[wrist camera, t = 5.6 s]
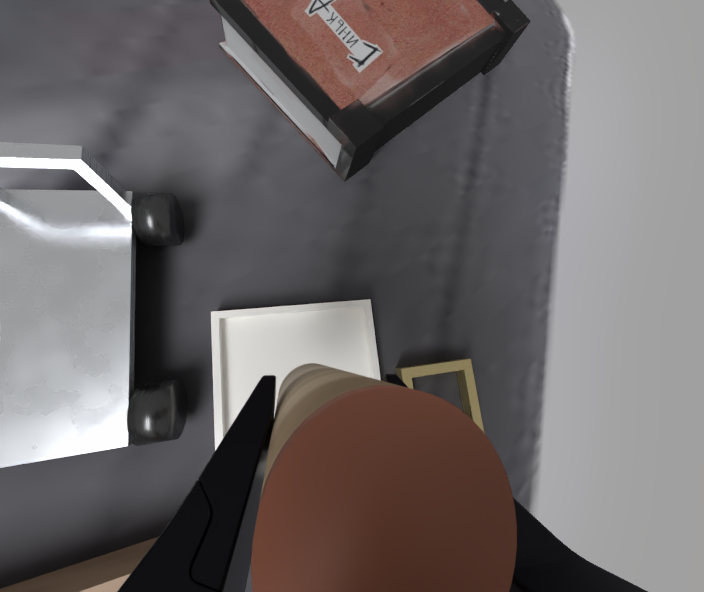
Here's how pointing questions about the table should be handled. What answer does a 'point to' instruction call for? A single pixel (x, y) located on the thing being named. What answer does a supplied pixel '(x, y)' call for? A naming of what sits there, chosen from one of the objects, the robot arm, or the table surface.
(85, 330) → the trolley
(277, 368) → the tray
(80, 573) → the bar
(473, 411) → the pin socket
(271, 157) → the table surface
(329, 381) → the pin
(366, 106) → the book
